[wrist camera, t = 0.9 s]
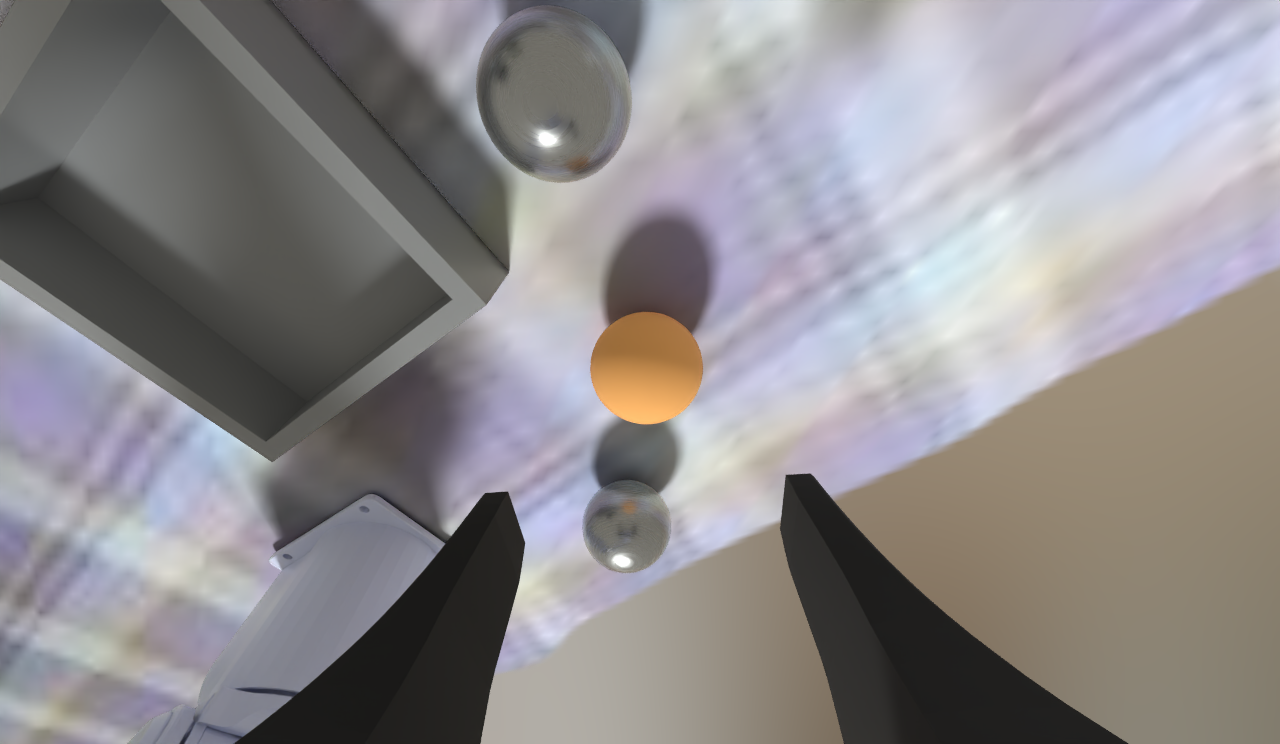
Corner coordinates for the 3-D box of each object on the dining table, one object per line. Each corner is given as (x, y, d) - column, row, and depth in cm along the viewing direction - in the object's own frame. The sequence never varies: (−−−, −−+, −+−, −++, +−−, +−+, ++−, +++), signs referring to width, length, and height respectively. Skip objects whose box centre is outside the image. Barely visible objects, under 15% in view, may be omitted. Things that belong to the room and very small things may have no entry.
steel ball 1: (558, 195, 17) (535, 228, 13) (471, 79, 15) (415, 78, 11) (658, 117, 16) (664, 129, 12) (576, -22, 14) (552, -59, 10)
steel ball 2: (619, 530, 27) (615, 602, 23) (570, 484, 25) (557, 556, 21) (684, 499, 25) (691, 571, 22) (638, 448, 23) (637, 518, 20)
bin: (317, 416, 22) (272, 462, 20) (16, 189, 17) (-104, 209, 14) (509, 272, 19) (486, 304, 16) (198, -81, 13) (84, -123, 10)
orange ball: (634, 399, 22) (632, 464, 18) (574, 330, 20) (558, 387, 16) (715, 352, 21) (732, 413, 17) (660, 273, 19) (664, 322, 15)
